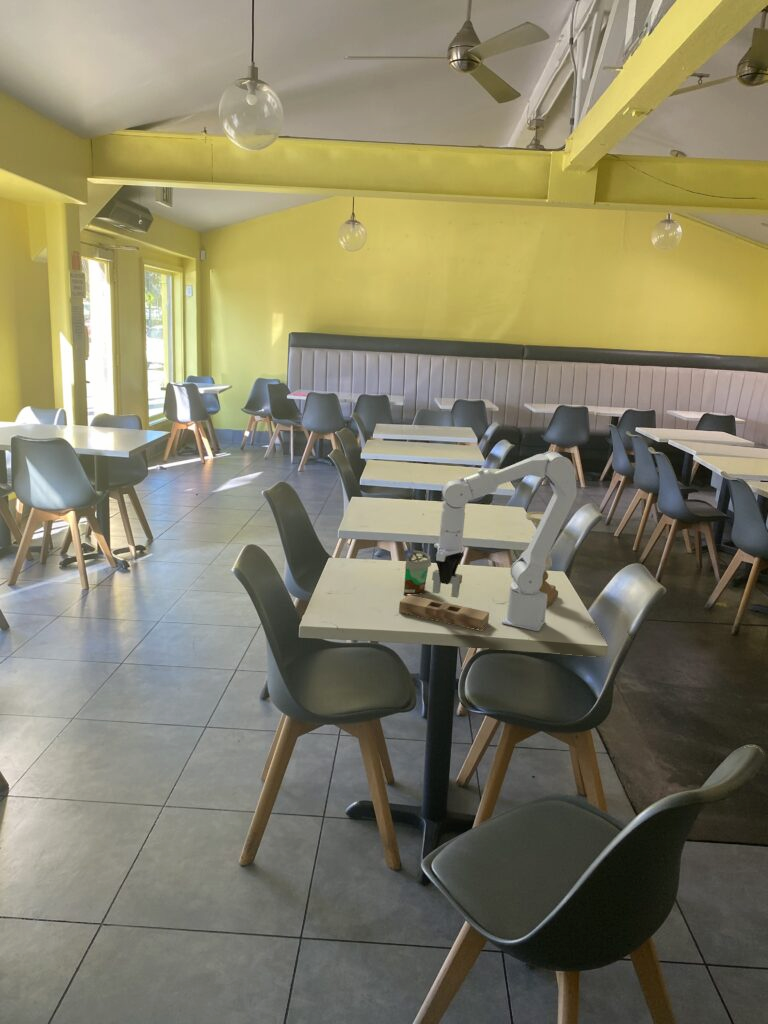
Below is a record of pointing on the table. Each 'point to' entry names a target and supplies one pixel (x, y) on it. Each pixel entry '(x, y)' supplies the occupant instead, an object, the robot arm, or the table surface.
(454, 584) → the grey block
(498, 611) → the table surface
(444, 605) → the brown slotted holder
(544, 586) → the candle holder
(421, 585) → the food container
